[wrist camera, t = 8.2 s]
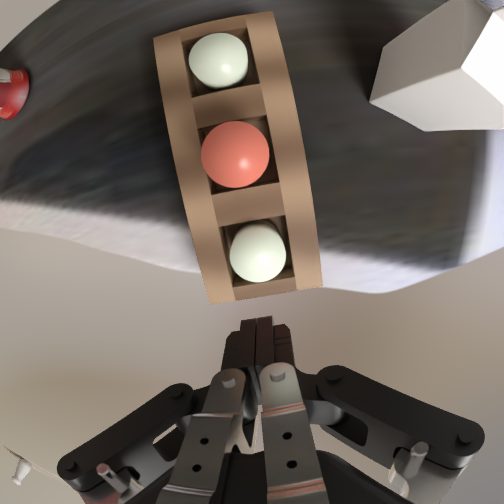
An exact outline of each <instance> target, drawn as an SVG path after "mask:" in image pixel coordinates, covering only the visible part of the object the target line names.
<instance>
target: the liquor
mask: <svg viewBox="0 0 504 504" xmlns="http://www.w3.org/2000/svg"><path fill="white" fill-rule="evenodd" d="M28 94H29V78H28V74H27V73H26V71H25V70H23V69H17V70H15V71H11V70H7V69H2V68H0V117H1V118H2V119H3V120H10V119H12V118H13V117H14V116H16V114H17V113H18V112H19V111H20V109H21V108H22V107H23V105H24V104H25V102H26V100H27V97H28Z"/></svg>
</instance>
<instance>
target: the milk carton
mask: <svg viewBox="0 0 504 504" xmlns="http://www.w3.org/2000/svg"><path fill="white" fill-rule="evenodd" d="M369 102H370V103H371V104H373V105H375V106H377V107H379V108H381V109H383V110H385V111H387V112H389V113H391V114H393V115H395V116H397V117H399V118H401V119H403V120H405V121H407V122H408V123H410V124H412V125H414V126H416V127H417V128H419V129H421V130H423V131H441V130H469V129H500V130H504V6H502V7H500V8H498V9H495V10H492V9H491V8H489V7H488V6H487V5H485V4H484V3H482V2H481V1H479V0H449V1H448V2H446V3H444V4H443V5H441V6H440V7H438V8H437V9H435V10H434V11H432V12H431V13H430V14H428V15H427V16H425V17H424V18H422V19H421V20H419V21H418V22H417V23H415V24H414V25H412V26H411V27H410V28H408V29H407V30H405V31H404V32H403V33H401V34H400V35H399V36H397V37H396V38H395V39H393V40H392V41H391V42H389V43H388V44H387V45H385V46H384V47H383V49H382V54H381V58H380V62H379V66H378V70H377V74H376V78H375V82H374V85H373V89H372V93H371V96H370V100H369Z"/></svg>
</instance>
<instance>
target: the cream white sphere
mask: <svg viewBox="0 0 504 504" xmlns="http://www.w3.org/2000/svg"><path fill="white" fill-rule="evenodd" d="M285 260H286V251H285V247H284V244H283V240H282V237H281V234H280V232H279V230H278V229H277V228H276V227H275V226H274V225H273V224H272V223H270V222H268V221H265V220H260V219H259V220H253V221H248V222H246V223H244V224H243V225H241V226H240V227H239V228H238V230H237V231H236V233H235V236H234V239H233V243H232V246H231V250H230V262H231V265H232V267H233V269H234V271H235V272H236V273H237V274H238V275H239V276H240V277H242V278H243V279H245V280H248V281H251V282H264V281H268V280H270V279H272V278H274V277H275V276H277V275H278V274H279V273H280V271H281V270H282V269H283V267H284V264H285Z"/></svg>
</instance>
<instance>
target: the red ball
mask: <svg viewBox="0 0 504 504" xmlns="http://www.w3.org/2000/svg"><path fill="white" fill-rule="evenodd" d="M201 161H202V165H203V167H204V170H205V171H206V173H207V174H208V175H209V177H210V178H211V179H212V180H214V181H215V182H217V183H218V184H220V185H223V186H226V187H232V188H238V187H244V186H247V185H249V184H251V183H253V182H255V181H256V180H257V179H258V178H259V177H260V176H261V175H262V174H263V173H264V171H265V169H266V167H267V164H268V161H269V147H268V144H267V141H266V139H265V137H264V136H263V134H262V133H261V132H260V131H259V130H258V129H257V128H255V127H254V126H252V125H251V124H248V123H245V122H241V121H230V122H226V123H223V124H220V125H218V126H217V127H215V128H214V129H213V130H212V131H211V132H210V133H209V134H208V135H207V136H206V138H205V140H204V142H203V145H202V149H201Z"/></svg>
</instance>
